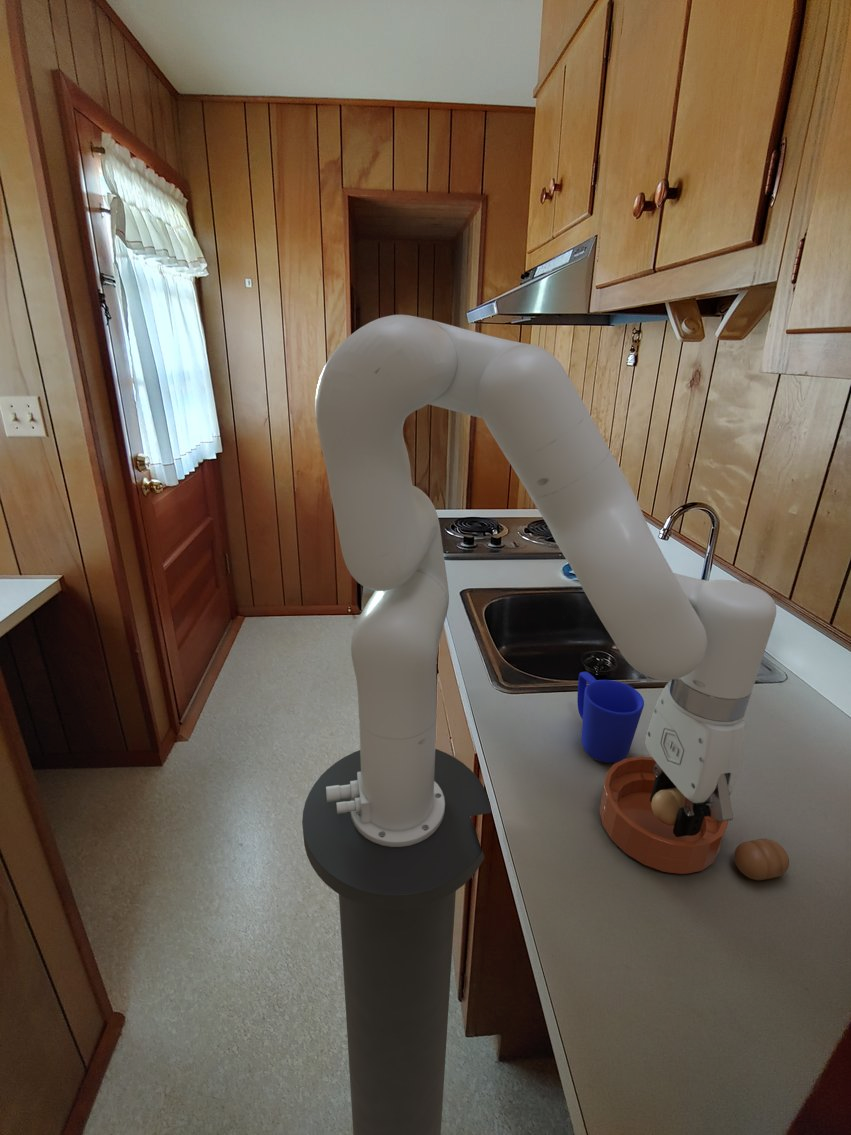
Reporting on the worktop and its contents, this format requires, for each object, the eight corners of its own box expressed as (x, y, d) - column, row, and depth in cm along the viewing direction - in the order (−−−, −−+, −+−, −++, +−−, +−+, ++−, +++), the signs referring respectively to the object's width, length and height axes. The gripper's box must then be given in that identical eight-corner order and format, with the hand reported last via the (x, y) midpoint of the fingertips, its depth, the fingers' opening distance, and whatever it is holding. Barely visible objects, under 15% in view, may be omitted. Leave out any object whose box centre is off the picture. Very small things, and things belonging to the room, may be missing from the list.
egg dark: (747, 891, 62) (756, 866, 61) (723, 860, 66) (730, 836, 64) (792, 881, 64) (802, 857, 62) (765, 852, 67) (774, 828, 66)
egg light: (661, 835, 64) (668, 810, 63) (642, 808, 68) (648, 784, 66) (706, 827, 65) (714, 802, 64) (685, 801, 69) (692, 777, 67)
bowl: (637, 886, 63) (644, 855, 61) (580, 792, 75) (585, 763, 74) (744, 865, 66) (755, 835, 64) (672, 778, 78) (679, 750, 76)
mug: (596, 713, 91) (605, 662, 87) (644, 763, 81) (656, 707, 77) (553, 722, 89) (560, 670, 85) (596, 775, 78) (606, 718, 74)
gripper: (634, 654, 66) (610, 771, 73) (733, 750, 51) (689, 885, 58) (690, 648, 68) (660, 764, 75) (801, 740, 53) (750, 874, 60)
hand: (673, 816), depth 67 cm, fingers closed on egg light, 4 cm apart
